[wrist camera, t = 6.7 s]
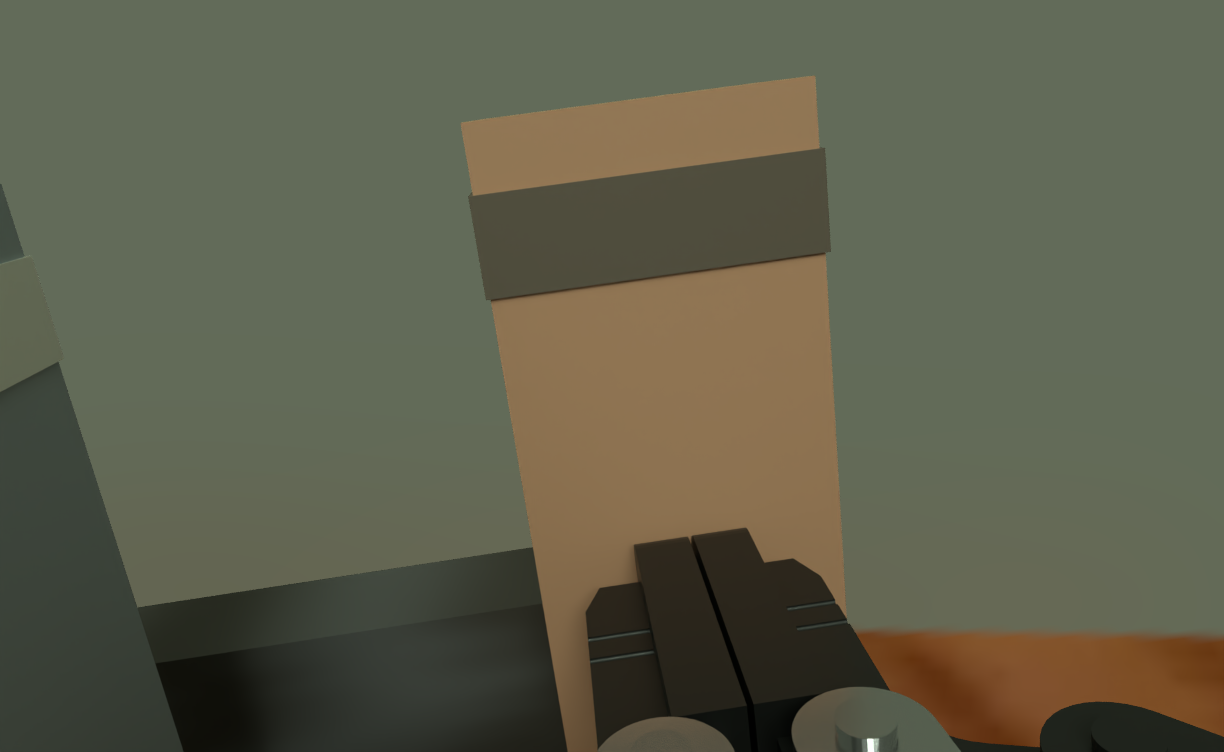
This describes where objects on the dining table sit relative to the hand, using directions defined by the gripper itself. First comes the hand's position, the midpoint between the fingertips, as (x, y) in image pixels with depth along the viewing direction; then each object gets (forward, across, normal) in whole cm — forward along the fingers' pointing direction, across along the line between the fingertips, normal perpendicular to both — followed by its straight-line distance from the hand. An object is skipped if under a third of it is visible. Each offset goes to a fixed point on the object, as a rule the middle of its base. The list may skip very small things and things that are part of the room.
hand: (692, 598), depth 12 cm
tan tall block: (+1, 0, +6) cm, 6 cm away
